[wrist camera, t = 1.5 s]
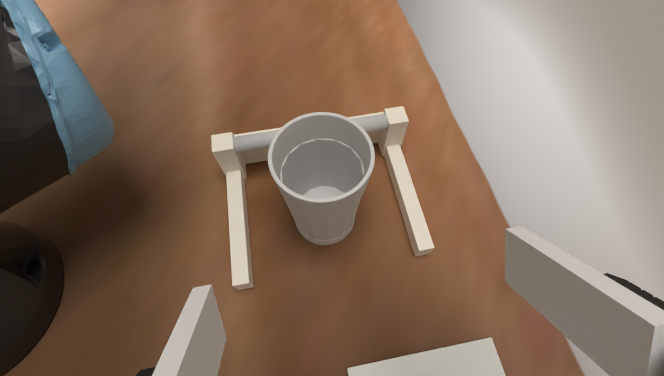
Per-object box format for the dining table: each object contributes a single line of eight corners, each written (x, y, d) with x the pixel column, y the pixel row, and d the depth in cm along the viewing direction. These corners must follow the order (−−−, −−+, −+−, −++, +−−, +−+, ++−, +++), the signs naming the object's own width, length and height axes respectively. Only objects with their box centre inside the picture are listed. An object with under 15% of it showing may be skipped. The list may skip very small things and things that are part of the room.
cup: (329, 170, 39) (327, 96, 28) (378, 220, 36) (397, 159, 25) (271, 212, 37) (246, 148, 26) (319, 269, 34) (313, 224, 23)
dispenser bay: (431, 253, 34) (449, 232, 29) (235, 290, 33) (216, 276, 27) (389, 126, 42) (397, 91, 36) (227, 152, 40) (210, 119, 35)
